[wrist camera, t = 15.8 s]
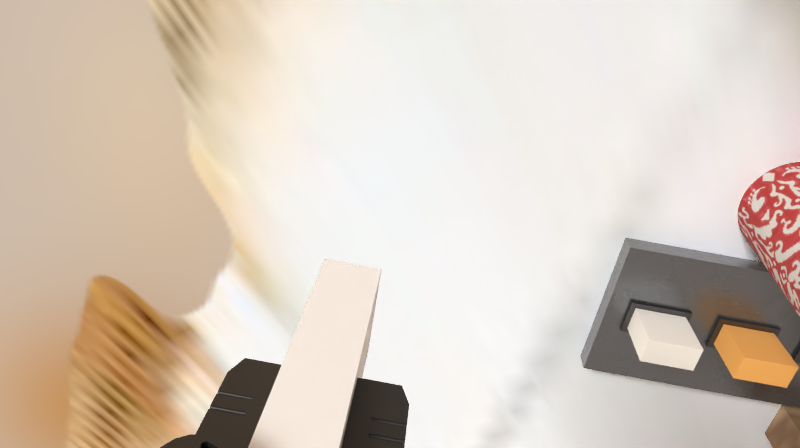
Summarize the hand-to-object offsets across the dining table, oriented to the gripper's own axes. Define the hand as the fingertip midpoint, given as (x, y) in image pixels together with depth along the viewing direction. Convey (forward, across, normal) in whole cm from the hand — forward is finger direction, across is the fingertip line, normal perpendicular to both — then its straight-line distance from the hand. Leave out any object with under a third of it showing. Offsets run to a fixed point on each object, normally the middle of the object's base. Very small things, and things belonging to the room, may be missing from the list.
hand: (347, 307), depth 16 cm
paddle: (+28, +22, -16) cm, 39 cm away
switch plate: (+29, +29, -16) cm, 44 cm away
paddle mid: (+28, +29, -16) cm, 43 cm away
